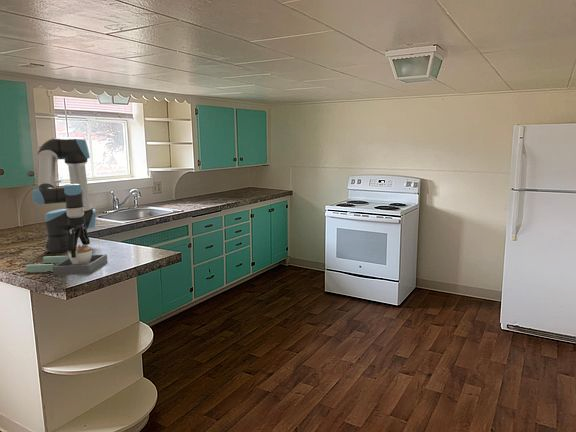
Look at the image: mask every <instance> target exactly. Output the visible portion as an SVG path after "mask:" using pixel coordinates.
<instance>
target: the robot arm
mask: <svg viewBox="0 0 576 432" xmlns="http://www.w3.org/2000/svg"><path fill="white" fill-rule="evenodd" d="M90 158H91V155H90V152H89V147H88V142H87V140H86V139H85V138H84V137H76V136H75V137H74V136H73V137H53V138H51V139H48V140H46V141H44V143H43V144H42V145H41V146H40V147H39V149H38V150H37V160H38V178H37V179H38V181H37V188H34V189H32V191H31V196H32V202H33V203H34V204H35V205H50V204H62V203H65V208H61V209H55V210H51V211H48V212H46V213H45V215H44V219H45V221H44V222H45V229H46V235H47V240H46V244H45V253H48V252H50V253H51V254H52V253H53V254H57V253H65V252H68V251H71V258H72V264H79V262H78V253H77V250H76V247H78V239H79V240H80V242H81V246H89V245H90V237H89V233H88V230H92V229H94V228H96V218H97V217H96V215H97V213H96V212H97V211H96V208H94V207H93V205H91V204H90V199H89V198H90V197H89V188H88V180H87V169H86V164H87V163H88V159H90ZM58 160H63V161H64V163H65V164H66V165H67V166H68V174H69V184H65V185H64V186H63V187H56V170H57V169H56V167H57V166H56V164H57V162H58ZM50 253H49V254H50Z"/></svg>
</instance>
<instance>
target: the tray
mask: <svg viewBox="0 0 576 432" xmlns="http://www.w3.org/2000/svg"><path fill="white" fill-rule="evenodd" d="M107 255H108V254H106V253H105V254H92V257H91V260H90V261H89V262H88V264H86V265H76V266H75V265H74V264H72V262H71V261H70V259H69V258H68V259H66V260H64V261H62V262H61V263H56V264H54V265H55V266H53V272H52V273H53V276H67V275H90V274H92V273H93V272H95V271H96V270H98V269H99V268H102V266H104V265H106V264H107V263H108V256H107Z"/></svg>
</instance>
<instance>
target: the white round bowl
mask: <svg viewBox="0 0 576 432" xmlns="http://www.w3.org/2000/svg"><path fill="white" fill-rule="evenodd" d="M76 250H77V253H78V262H79V264H74V265H75V266H76V265H86V264H88V262H89V261H90V260H91V257H92V255H93V248H92V247H91V246H89V245H88V246H82V245H81V244H79V245H78V244H77V247H76ZM67 256H69V259H70V261H71V262H72V258H71V251H67Z"/></svg>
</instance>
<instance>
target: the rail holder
mask: <svg viewBox="0 0 576 432" xmlns="http://www.w3.org/2000/svg"><path fill="white" fill-rule="evenodd" d="M68 258H69V256H68V255H55V256H53V255H52V256H50V255H49V256H48V255H47V256H43V257H42V263H41V264H39V263H38V264H26V265H25V271H26V272H30V273H48V272H47V271H51V272H52V273H53V266H55V265H56V264H59V263H61V262H62V261H64V260H66V259H68ZM43 263H55V264H43ZM26 272H25V273H26ZM51 272H50V273H51Z"/></svg>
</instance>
